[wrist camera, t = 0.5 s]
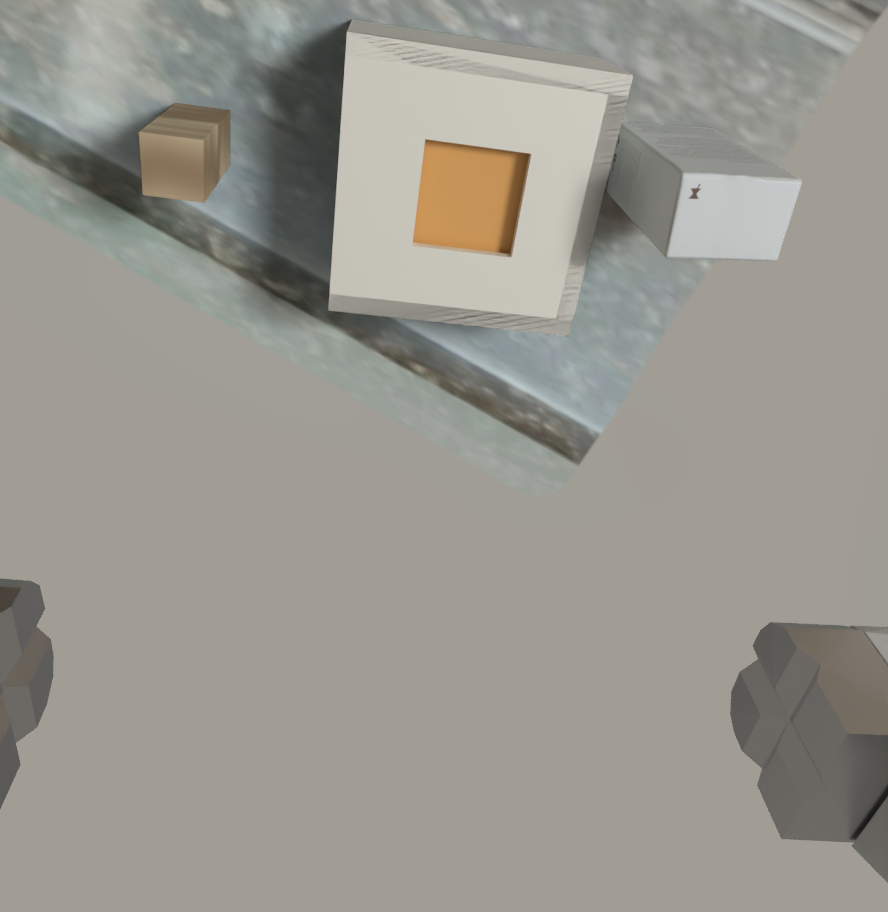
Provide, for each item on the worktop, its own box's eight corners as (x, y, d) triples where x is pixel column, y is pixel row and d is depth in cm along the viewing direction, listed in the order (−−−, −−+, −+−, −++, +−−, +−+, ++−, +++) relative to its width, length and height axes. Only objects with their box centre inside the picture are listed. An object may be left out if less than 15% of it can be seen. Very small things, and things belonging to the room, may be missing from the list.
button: (402, 96, 42) (402, 105, 40) (547, 117, 43) (556, 127, 41) (386, 243, 46) (386, 259, 44) (519, 258, 47) (526, 275, 45)
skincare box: (604, 194, 49) (660, 259, 39) (616, 120, 46) (680, 169, 36) (699, 198, 49) (779, 264, 39) (716, 126, 47) (806, 176, 37)
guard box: (352, 19, 43) (346, 31, 37) (600, 57, 44) (633, 75, 39) (335, 267, 50) (328, 310, 44) (548, 291, 52) (568, 336, 46)
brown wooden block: (175, 103, 44) (138, 131, 38) (230, 110, 45) (203, 140, 38) (177, 158, 46) (142, 194, 39) (230, 164, 46) (204, 202, 40)
